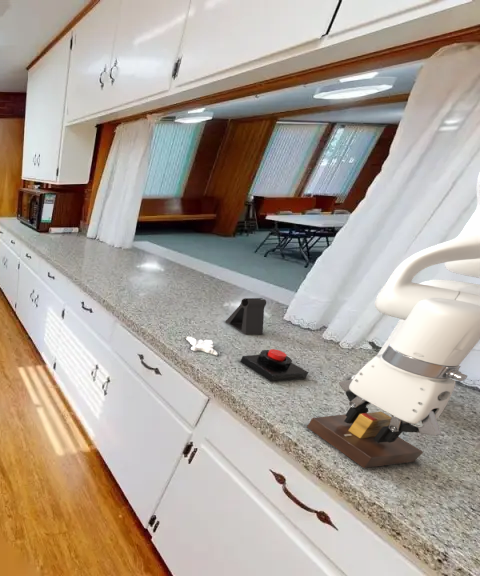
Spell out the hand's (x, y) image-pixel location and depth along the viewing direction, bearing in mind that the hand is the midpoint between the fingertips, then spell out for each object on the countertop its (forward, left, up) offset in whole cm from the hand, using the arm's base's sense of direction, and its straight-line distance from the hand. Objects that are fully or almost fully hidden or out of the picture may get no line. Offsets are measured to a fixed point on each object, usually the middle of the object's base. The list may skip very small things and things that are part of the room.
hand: (366, 430), depth 63 cm
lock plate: (0, 0, -4) cm, 4 cm away
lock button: (-8, -25, 0) cm, 26 cm away
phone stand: (-21, -46, -4) cm, 51 cm away
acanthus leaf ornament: (+4, -37, -4) cm, 37 cm away
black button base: (-7, -24, -4) cm, 25 cm away
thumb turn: (0, 0, -1) cm, 1 cm away
